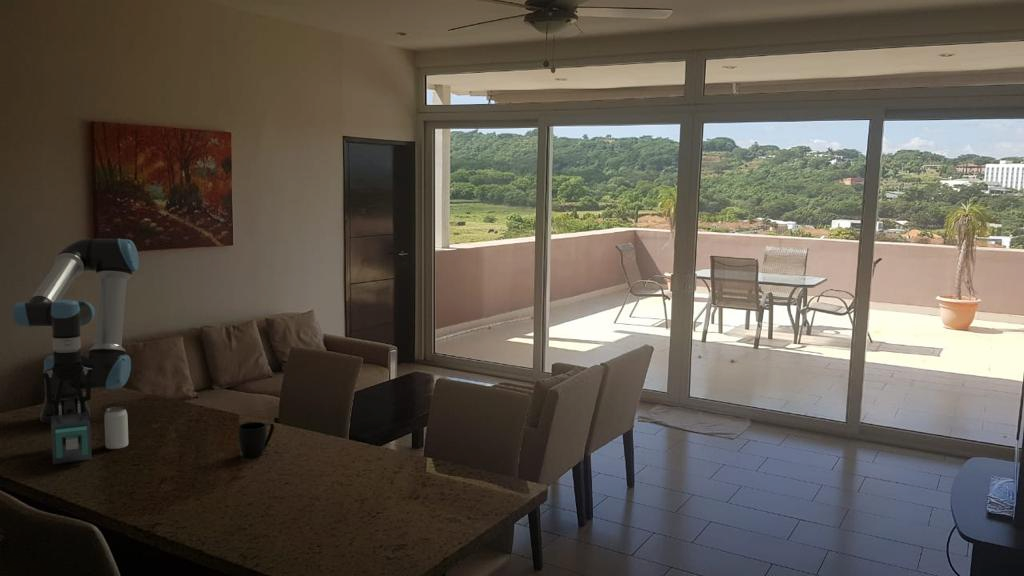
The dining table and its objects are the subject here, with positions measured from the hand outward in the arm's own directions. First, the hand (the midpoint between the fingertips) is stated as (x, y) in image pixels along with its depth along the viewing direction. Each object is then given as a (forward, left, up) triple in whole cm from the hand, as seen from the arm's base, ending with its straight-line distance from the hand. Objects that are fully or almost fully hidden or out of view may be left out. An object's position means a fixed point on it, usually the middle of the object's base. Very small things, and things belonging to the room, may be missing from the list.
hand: (70, 423), depth 245 cm
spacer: (+19, 0, -4) cm, 19 cm away
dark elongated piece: (+11, 0, -1) cm, 11 cm away
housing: (+12, 0, -7) cm, 14 cm away
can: (+7, +12, -7) cm, 16 cm away
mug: (+33, +50, -7) cm, 60 cm away
